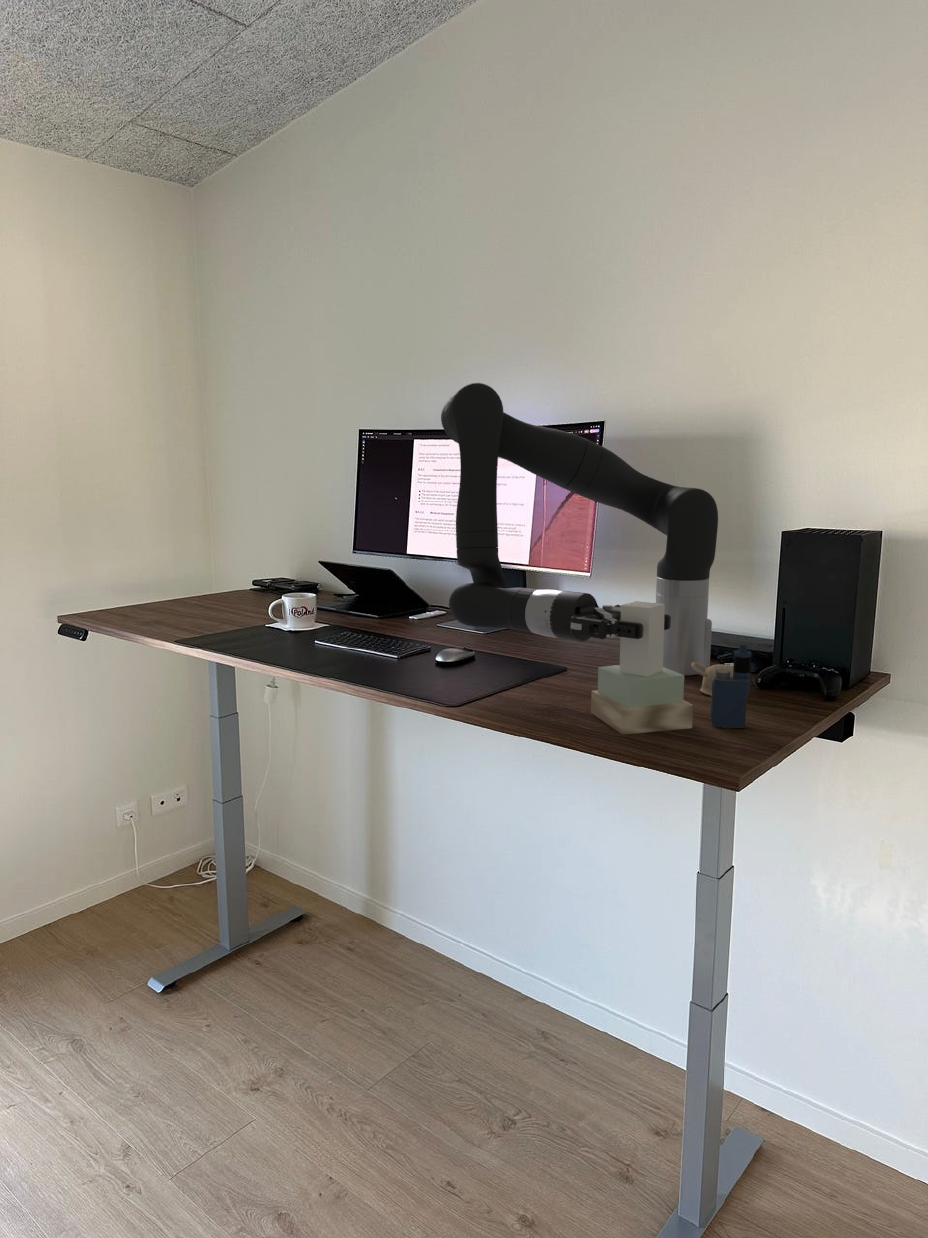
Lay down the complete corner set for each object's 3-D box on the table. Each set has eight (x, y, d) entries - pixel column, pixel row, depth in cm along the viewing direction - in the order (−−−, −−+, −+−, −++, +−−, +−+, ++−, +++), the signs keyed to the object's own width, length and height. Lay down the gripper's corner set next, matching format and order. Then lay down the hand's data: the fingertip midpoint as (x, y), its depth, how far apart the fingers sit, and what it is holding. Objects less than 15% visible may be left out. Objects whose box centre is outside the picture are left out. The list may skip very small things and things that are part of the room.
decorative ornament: (742, 700, 137) (744, 668, 136) (689, 695, 139) (691, 664, 138) (743, 693, 141) (744, 662, 140) (691, 689, 143) (692, 658, 142)
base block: (655, 710, 133) (656, 685, 132) (691, 731, 123) (693, 705, 122) (590, 716, 130) (591, 690, 130) (622, 738, 120) (622, 710, 119)
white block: (634, 666, 128) (636, 601, 126) (662, 670, 125) (664, 603, 123) (619, 672, 125) (620, 605, 123) (647, 676, 122) (649, 608, 120)
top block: (648, 686, 132) (649, 661, 131) (683, 701, 123) (684, 675, 123) (597, 692, 128) (598, 667, 128) (630, 708, 120) (631, 681, 120)
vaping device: (748, 730, 122) (753, 648, 119) (710, 727, 123) (714, 646, 120) (746, 724, 124) (751, 644, 122) (709, 722, 125) (713, 642, 123)
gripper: (535, 596, 126) (633, 607, 116) (585, 585, 137) (679, 595, 127) (535, 645, 128) (631, 661, 118) (584, 631, 138) (677, 644, 128)
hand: (656, 626), depth 122 cm, fingers open, 8 cm apart
